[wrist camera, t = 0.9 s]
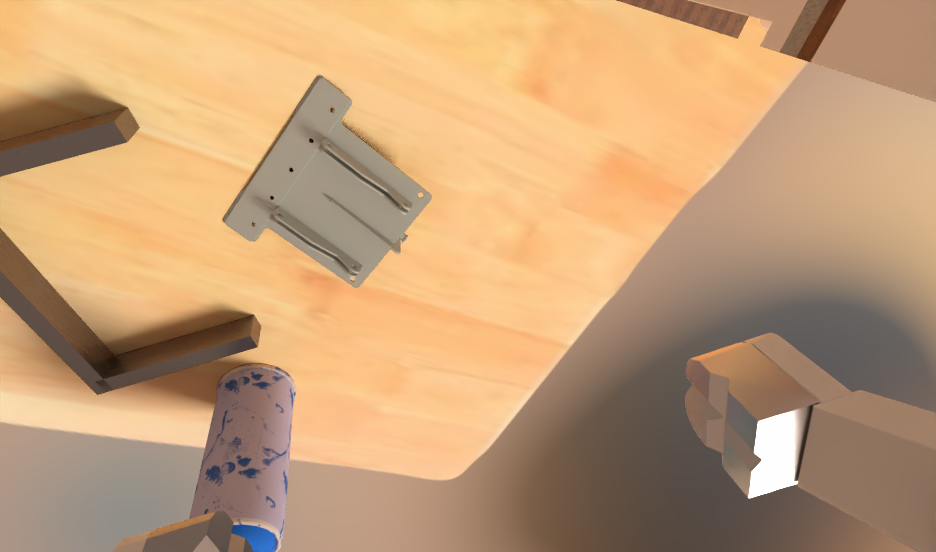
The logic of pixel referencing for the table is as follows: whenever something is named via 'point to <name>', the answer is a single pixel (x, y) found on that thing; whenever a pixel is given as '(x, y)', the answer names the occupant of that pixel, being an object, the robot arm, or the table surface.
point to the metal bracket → (329, 191)
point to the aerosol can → (249, 454)
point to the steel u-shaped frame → (49, 314)
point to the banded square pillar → (832, 34)
